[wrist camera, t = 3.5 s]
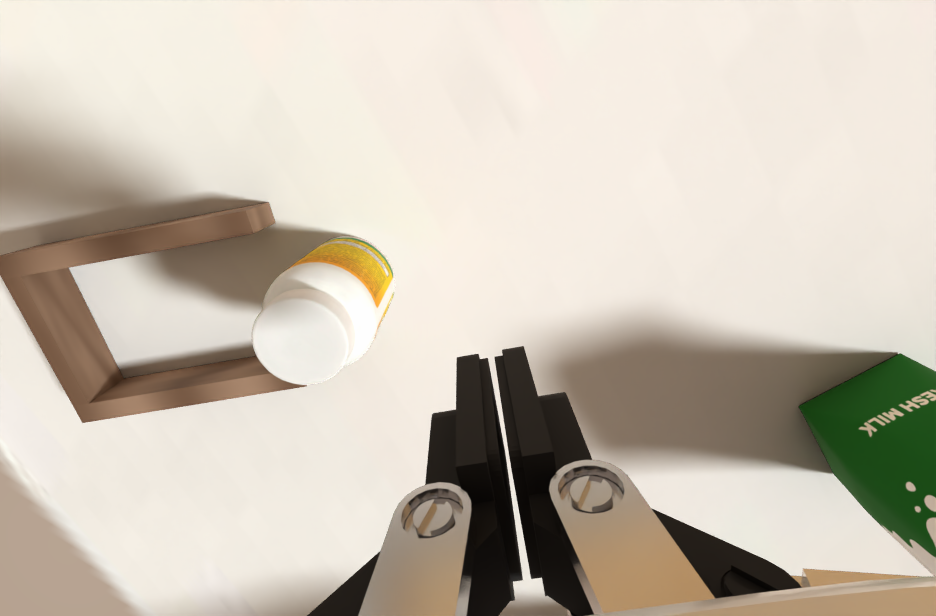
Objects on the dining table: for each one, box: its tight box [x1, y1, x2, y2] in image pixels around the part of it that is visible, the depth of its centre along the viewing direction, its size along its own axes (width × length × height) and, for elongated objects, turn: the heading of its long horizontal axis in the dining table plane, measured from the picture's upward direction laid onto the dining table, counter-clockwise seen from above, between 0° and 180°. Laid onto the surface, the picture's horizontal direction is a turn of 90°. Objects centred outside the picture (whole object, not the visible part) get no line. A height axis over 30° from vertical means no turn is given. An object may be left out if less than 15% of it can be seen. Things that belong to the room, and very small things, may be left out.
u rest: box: [0, 202, 307, 423], centre depth 27 cm, size 14×10×3 cm
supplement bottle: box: [252, 236, 395, 385], centre depth 24 cm, size 5×5×10 cm
